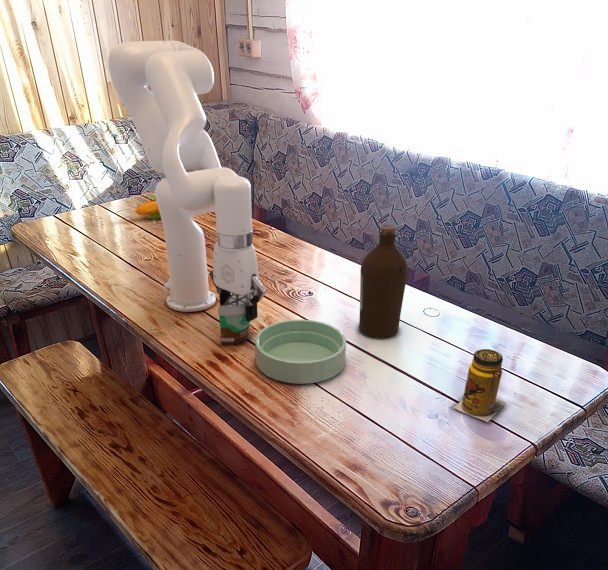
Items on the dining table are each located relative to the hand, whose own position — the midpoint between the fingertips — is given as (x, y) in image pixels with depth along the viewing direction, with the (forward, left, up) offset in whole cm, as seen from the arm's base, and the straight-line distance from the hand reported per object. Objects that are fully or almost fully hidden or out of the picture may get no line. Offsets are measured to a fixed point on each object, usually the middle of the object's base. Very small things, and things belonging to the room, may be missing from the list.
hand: (238, 313), depth 135 cm
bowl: (+18, 0, -6) cm, 19 cm away
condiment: (+56, +9, -6) cm, 57 cm away
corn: (-84, +49, -6) cm, 97 cm away
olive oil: (+23, +24, -6) cm, 34 cm away
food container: (0, 0, -6) cm, 6 cm away
